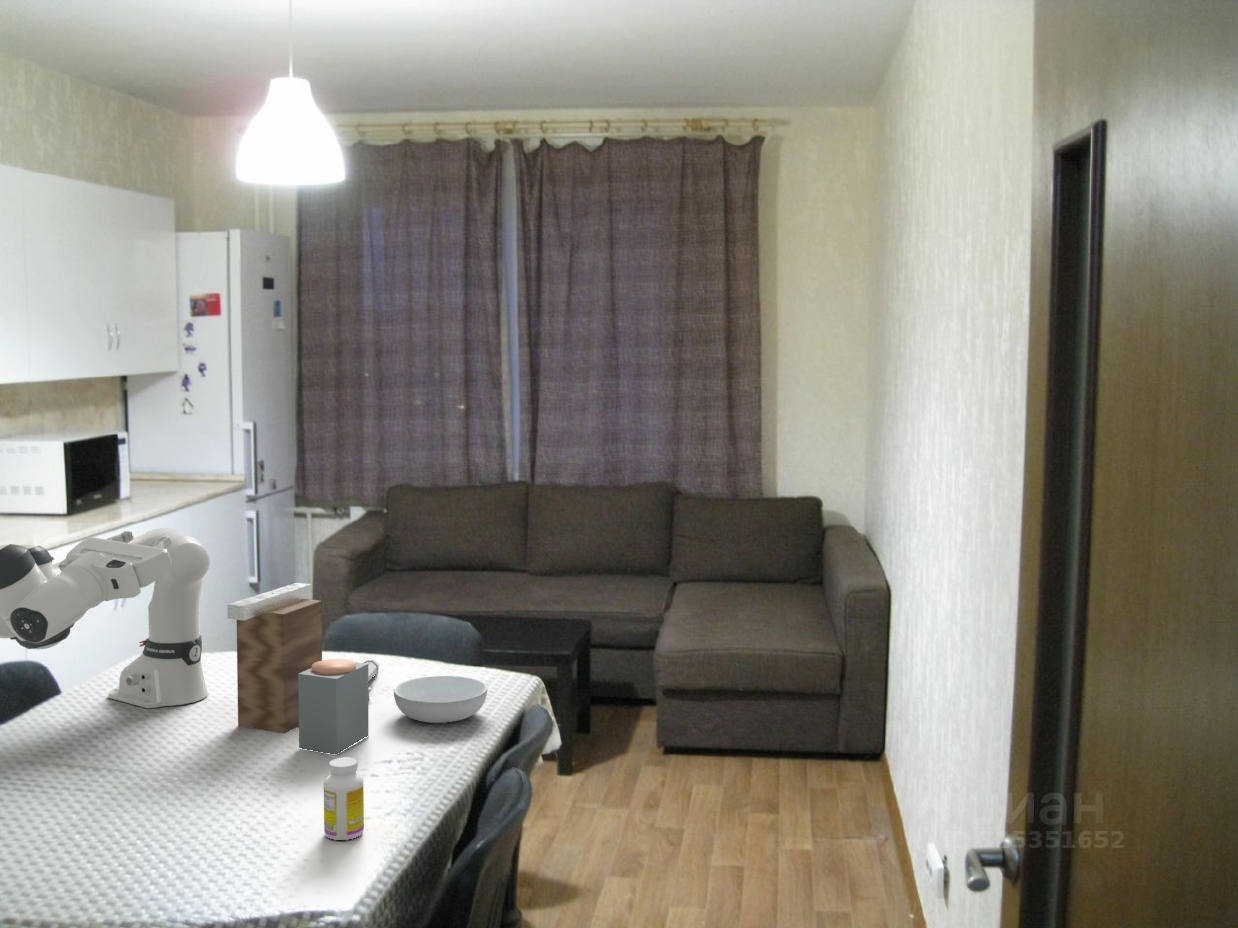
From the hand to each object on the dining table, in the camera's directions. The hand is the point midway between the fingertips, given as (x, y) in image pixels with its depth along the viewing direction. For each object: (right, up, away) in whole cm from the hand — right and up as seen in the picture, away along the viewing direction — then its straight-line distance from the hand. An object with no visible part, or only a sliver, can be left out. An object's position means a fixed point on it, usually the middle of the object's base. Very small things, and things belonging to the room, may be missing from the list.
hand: (148, 537), depth 227 cm
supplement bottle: (+42, -50, -22) cm, 69 cm away
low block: (+30, -45, +23) cm, 58 cm away
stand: (+15, -43, +37) cm, 58 cm away
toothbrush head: (+28, -41, +62) cm, 79 cm away
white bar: (+14, -17, +31) cm, 38 cm away
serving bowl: (+49, -43, +41) cm, 78 cm away
